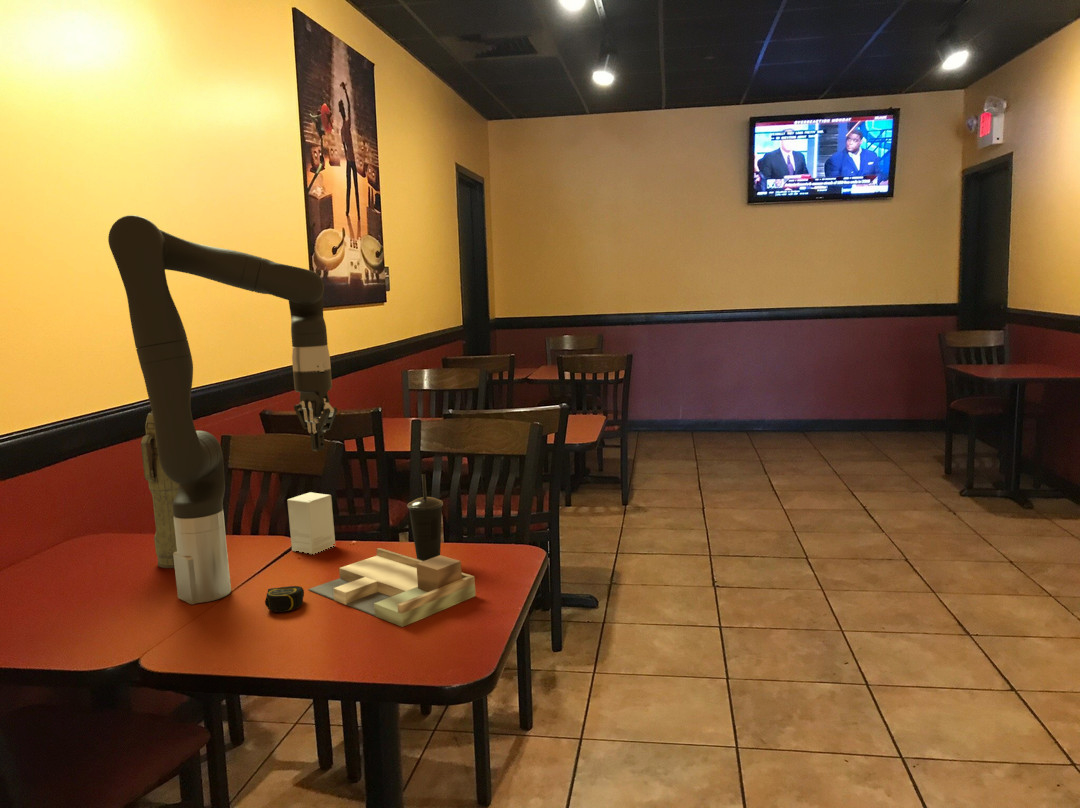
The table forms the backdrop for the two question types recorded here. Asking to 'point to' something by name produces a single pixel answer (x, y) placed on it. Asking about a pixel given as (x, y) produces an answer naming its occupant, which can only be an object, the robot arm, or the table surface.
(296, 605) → the tape measure
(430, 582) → the walnut block
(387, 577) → the board
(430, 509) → the drinking cup
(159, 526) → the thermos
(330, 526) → the supplement box
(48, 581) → the table surface
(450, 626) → the table surface
